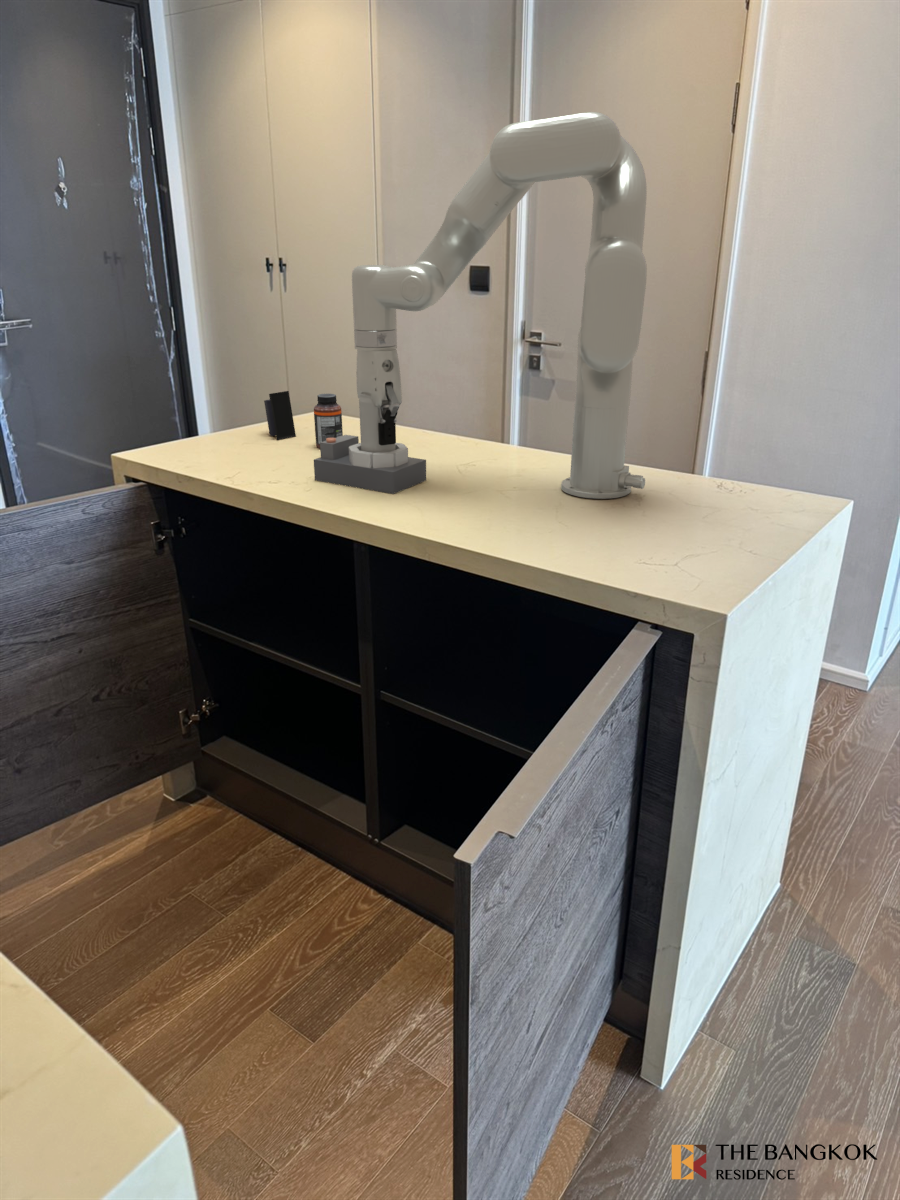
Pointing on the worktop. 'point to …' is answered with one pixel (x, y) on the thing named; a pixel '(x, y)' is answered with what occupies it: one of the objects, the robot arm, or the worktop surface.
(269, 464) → the worktop surface
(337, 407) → the supplement bottle
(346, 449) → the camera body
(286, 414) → the speaker
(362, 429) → the beverage can
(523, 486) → the worktop surface
